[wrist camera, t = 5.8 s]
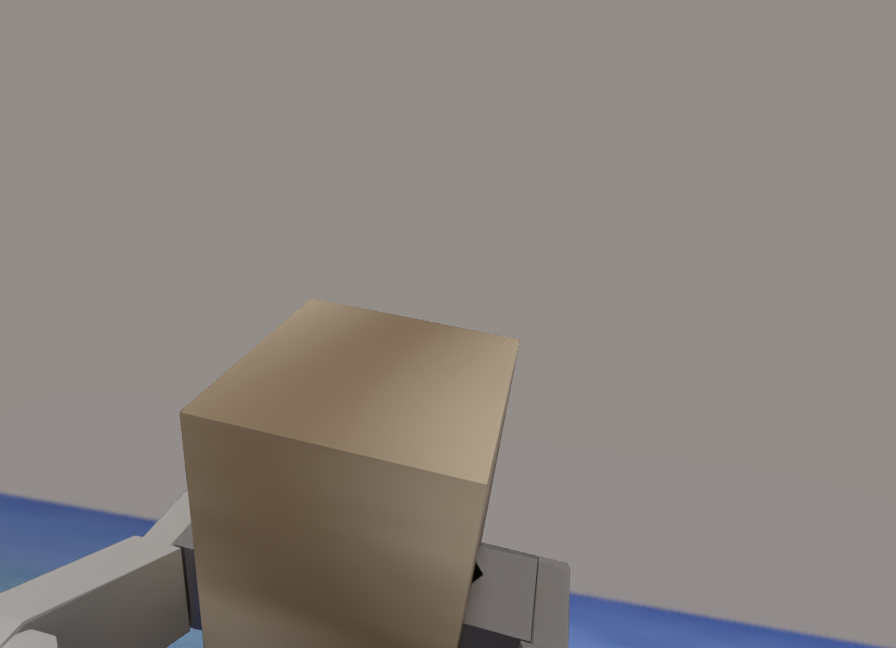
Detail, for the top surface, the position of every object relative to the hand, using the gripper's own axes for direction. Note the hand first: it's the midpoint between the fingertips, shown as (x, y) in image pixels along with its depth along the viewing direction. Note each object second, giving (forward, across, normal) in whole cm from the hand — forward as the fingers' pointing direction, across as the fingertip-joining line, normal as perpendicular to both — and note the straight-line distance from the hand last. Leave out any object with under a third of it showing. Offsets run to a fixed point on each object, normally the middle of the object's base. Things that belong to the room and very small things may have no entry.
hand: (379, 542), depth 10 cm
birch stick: (-1, 0, +14) cm, 14 cm away
